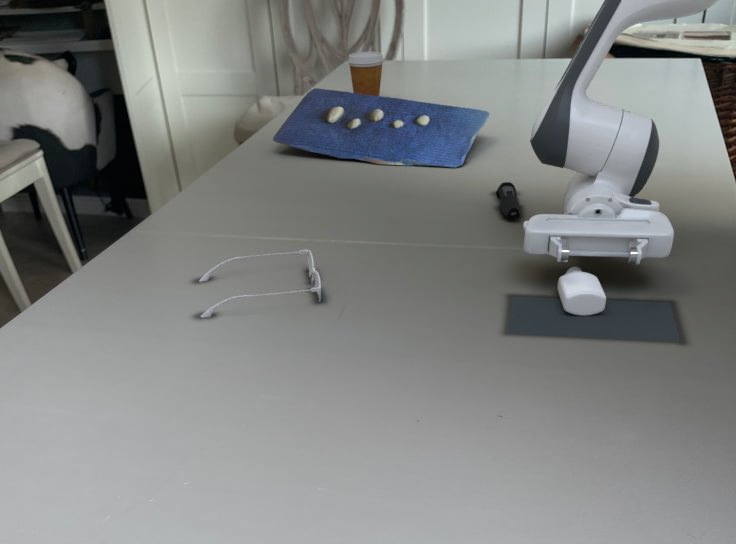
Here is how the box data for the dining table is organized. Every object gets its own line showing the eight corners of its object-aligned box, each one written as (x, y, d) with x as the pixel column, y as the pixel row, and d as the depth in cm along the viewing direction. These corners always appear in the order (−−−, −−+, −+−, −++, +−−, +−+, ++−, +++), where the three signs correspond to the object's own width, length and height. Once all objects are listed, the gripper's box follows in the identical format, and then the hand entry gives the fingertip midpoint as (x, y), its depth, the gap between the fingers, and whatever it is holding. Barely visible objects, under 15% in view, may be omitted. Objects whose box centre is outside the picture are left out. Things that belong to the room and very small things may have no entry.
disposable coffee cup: (347, 102, 221) (345, 52, 213) (382, 99, 221) (381, 50, 214) (351, 110, 213) (349, 59, 206) (386, 107, 214) (386, 56, 207)
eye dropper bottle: (599, 281, 108) (585, 249, 118) (560, 300, 110) (548, 267, 120) (611, 308, 111) (595, 274, 120) (571, 326, 113) (559, 291, 122)
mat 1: (492, 144, 190) (495, 96, 181) (459, 213, 176) (461, 165, 167) (317, 122, 202) (311, 76, 193) (273, 185, 188) (265, 138, 179)
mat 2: (669, 306, 114) (670, 302, 114) (679, 345, 105) (680, 341, 105) (511, 300, 118) (512, 296, 118) (508, 337, 109) (508, 333, 108)
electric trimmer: (501, 225, 143) (502, 207, 141) (495, 195, 155) (496, 178, 153) (522, 225, 143) (524, 206, 140) (515, 195, 154) (516, 178, 152)
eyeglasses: (324, 310, 118) (322, 284, 116) (200, 323, 116) (195, 297, 114) (311, 270, 130) (309, 245, 127) (198, 281, 128) (194, 257, 126)
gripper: (525, 199, 119) (522, 232, 109) (670, 201, 116) (682, 236, 105) (521, 241, 123) (518, 277, 113) (661, 245, 120) (672, 282, 109)
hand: (598, 257), depth 109 cm, fingers open, 8 cm apart
